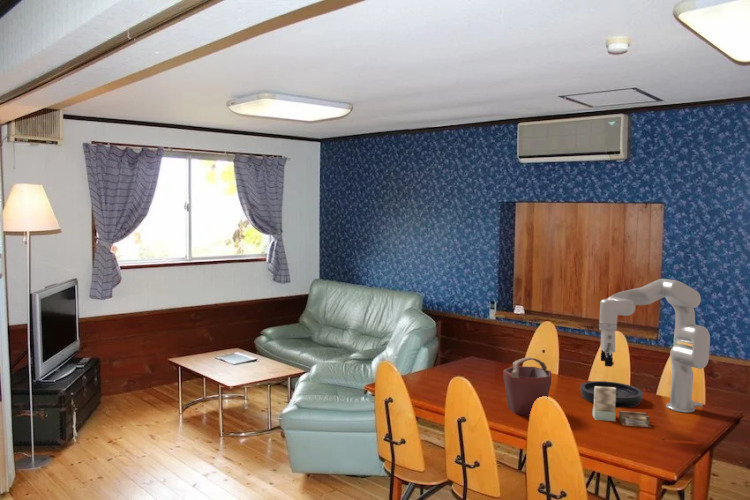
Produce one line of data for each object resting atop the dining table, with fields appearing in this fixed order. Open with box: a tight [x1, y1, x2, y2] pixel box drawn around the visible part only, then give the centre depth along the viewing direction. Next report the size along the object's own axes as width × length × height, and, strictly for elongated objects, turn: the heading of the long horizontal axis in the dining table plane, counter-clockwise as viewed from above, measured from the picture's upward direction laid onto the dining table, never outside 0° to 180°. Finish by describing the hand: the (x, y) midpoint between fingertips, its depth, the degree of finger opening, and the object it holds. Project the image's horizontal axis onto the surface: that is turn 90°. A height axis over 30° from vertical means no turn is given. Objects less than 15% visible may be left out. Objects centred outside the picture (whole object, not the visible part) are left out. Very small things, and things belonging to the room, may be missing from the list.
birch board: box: [592, 386, 616, 417], centre depth 288 cm, size 9×2×14 cm, turn 80°
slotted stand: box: [591, 406, 617, 422], centre depth 288 cm, size 9×8×4 cm
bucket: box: [502, 357, 552, 417], centre depth 299 cm, size 24×22×25 cm
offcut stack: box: [625, 416, 649, 428], centre depth 279 cm, size 9×3×3 cm, turn 80°
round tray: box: [579, 380, 644, 408], centre depth 320 cm, size 30×6×30 cm
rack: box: [617, 410, 652, 428], centre depth 282 cm, size 12×10×4 cm
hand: (606, 363), depth 287 cm, fingers open, 9 cm apart
